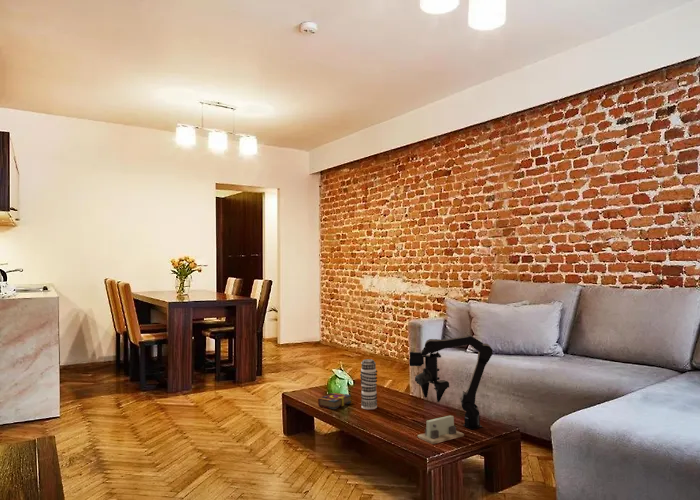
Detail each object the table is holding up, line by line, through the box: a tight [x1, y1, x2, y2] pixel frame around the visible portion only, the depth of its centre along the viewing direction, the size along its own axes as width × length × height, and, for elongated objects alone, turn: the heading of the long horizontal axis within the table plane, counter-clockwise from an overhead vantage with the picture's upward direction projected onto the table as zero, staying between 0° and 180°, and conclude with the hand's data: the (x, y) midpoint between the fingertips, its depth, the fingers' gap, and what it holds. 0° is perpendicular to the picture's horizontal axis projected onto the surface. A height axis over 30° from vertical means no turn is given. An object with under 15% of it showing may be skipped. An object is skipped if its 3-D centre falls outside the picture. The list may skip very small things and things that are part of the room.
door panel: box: [425, 414, 455, 438], centre depth 222 cm, size 14×3×7 cm, turn 121°
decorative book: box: [317, 392, 352, 410], centre depth 276 cm, size 11×16×5 cm
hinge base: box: [417, 425, 465, 445], centre depth 223 cm, size 18×10×4 cm, turn 121°
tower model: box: [359, 358, 378, 410], centre depth 269 cm, size 9×9×25 cm
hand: (432, 399), depth 238 cm, fingers open, 9 cm apart
